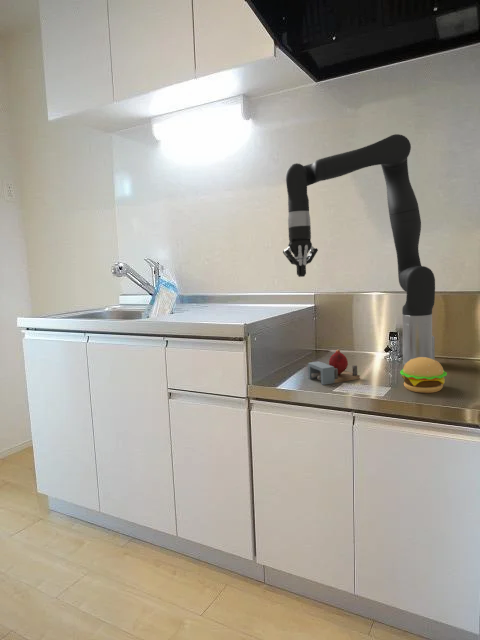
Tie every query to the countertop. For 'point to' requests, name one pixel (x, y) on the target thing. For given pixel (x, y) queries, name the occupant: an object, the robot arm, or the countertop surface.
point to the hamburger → (423, 375)
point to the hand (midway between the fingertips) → (301, 276)
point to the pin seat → (341, 375)
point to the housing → (322, 372)
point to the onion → (338, 361)
